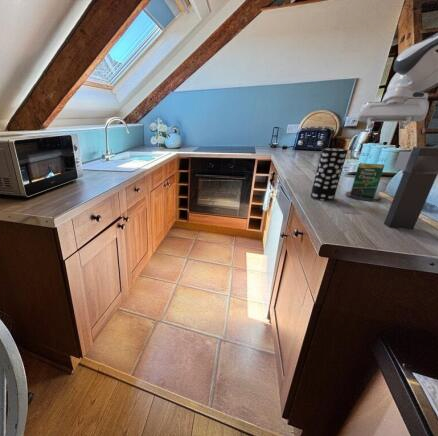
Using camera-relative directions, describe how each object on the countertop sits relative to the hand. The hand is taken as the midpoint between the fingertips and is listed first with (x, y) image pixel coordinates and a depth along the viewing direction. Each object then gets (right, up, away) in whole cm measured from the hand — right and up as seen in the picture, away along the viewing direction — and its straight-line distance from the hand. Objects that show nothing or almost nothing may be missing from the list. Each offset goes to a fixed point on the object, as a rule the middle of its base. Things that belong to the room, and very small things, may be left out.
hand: (385, 127), depth 98 cm
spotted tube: (-22, -28, +6) cm, 36 cm away
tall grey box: (-16, -38, -19) cm, 46 cm away
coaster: (-5, -27, +6) cm, 28 cm away
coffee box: (-5, -27, +6) cm, 28 cm away
